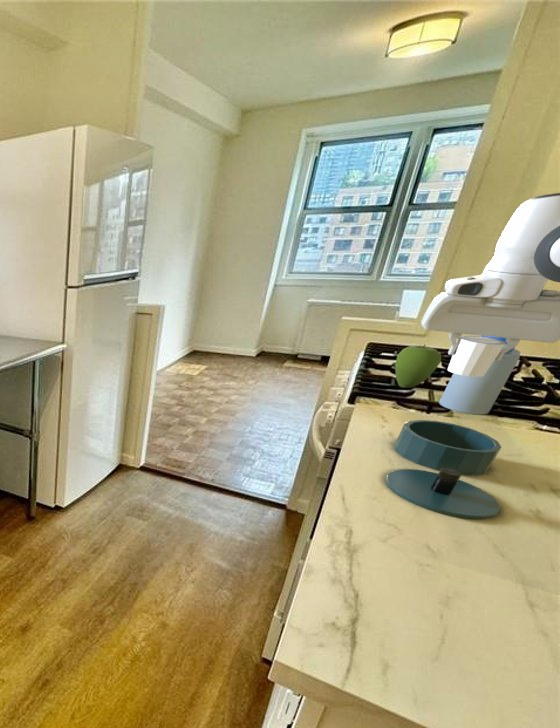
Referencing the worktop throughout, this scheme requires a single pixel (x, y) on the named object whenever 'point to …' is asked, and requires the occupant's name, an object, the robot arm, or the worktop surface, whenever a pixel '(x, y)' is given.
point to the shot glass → (474, 355)
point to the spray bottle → (479, 386)
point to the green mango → (416, 365)
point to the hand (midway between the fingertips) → (472, 357)
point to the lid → (443, 493)
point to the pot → (447, 446)
